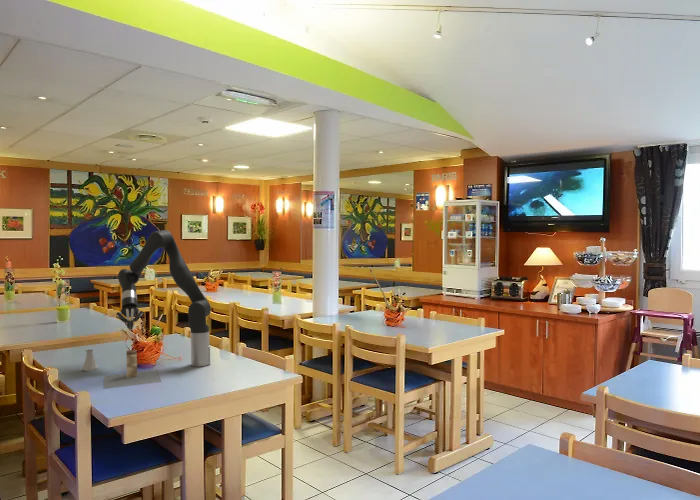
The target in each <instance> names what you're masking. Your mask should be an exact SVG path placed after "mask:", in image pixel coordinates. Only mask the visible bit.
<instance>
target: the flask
mask: <svg viewBox="0 0 700 500" xmlns="http://www.w3.org/2000/svg"><path fill="white" fill-rule="evenodd" d="M85 352H86V356H85V359H84V363H83V366H82V368H81V371H82V372H89V371H90V372H91V371H94V370H95V371H97V370H98V369H99V366H98V363H97V362H96V359H95V357H94V354H93V353H94V349H86V350H85Z"/></svg>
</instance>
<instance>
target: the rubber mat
mask: <svg viewBox="0 0 700 500" xmlns="http://www.w3.org/2000/svg"><path fill="white" fill-rule="evenodd" d="M161 382H162V380H161V375H160V372H159V370H158V369H155V370H154V369H153V370H145V371H137V377H129V378H127V372H126V373H119V374H110V375H109V374H108V375H104V379H103V387H102V388H103V390H105V389H113V388H120V387H121V388H123V387H128V386H139V385H148V384H154V383H161Z"/></svg>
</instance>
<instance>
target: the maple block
mask: <svg viewBox="0 0 700 500" xmlns="http://www.w3.org/2000/svg"><path fill="white" fill-rule="evenodd" d="M125 352H126V373H127V378H129V377H137V372H138V357H137V355H138V353H137V349H129V350H126V351H125Z"/></svg>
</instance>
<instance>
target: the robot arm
mask: <svg viewBox="0 0 700 500" xmlns="http://www.w3.org/2000/svg"><path fill="white" fill-rule="evenodd" d="M159 249H164V250H165V252H166V255H167V257H168V261H169V263H168V265H169V273H170V275H171V277H172V279H173V281H174V283H175V284H176V286H177V287H178V288H179V289H180V290H182V292H184V294H186V296H187V297H188V298H189V301H190V302H191V304H190V305H189V307H188V310H187V311H188V313H187V314H188V316H187V317H188V326H189V330H190V365H191V366H192V367H205V366H208V365H211V346H210V326H209V324H207V319H206V318H207V317H208V316H210V314H211V311H212V308H211V304H210V302H209V300H208V299H207V298H206V297H205V294H203V291H202V290H201V289H200V287H199V285H198V284H197V281H196V280H195V278H194V276H193V274H192V272H191V270H190V268H189V266H188V264H187V263H186V262H185V260H184V258H183V256H182V254H181V252H180V250H179V247H178V245H177V242H176V241H175V238H174V236H173V234H172V233H171V232H170V231H169V230H168V229H162V230H155V231H153V232H151V233H150V235H148V238H147V240H146V241H145V243H144V245H143V247H142V248H141V249H140V252H139V254H138V255H137V256H136V257H135V258H134V259H133V261H131V263H130V264H129V269H127V268H122V269H120V271H119V272H118V275H117V280H118V282H119V285H120V288H121V309H120V311H117V312H116V317H117V318H118V319H119V320H120V321H121V322H122V323H126V327H127V329H128V330H131V329H133V328H134V323H137V322H138V321H139V320H140V318H141V317H142V316H143V314H144V312H143V310H139V308H138V295H137V285H136V284H137V283H138V282H139V280H140V277H141V275H142V273H143V271H144V270H145V269H146V267H147V266H148V265H149V264H150V262H151V257H152V255H153V254H154V253H155V252H156V251H157V250H159Z"/></svg>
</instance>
